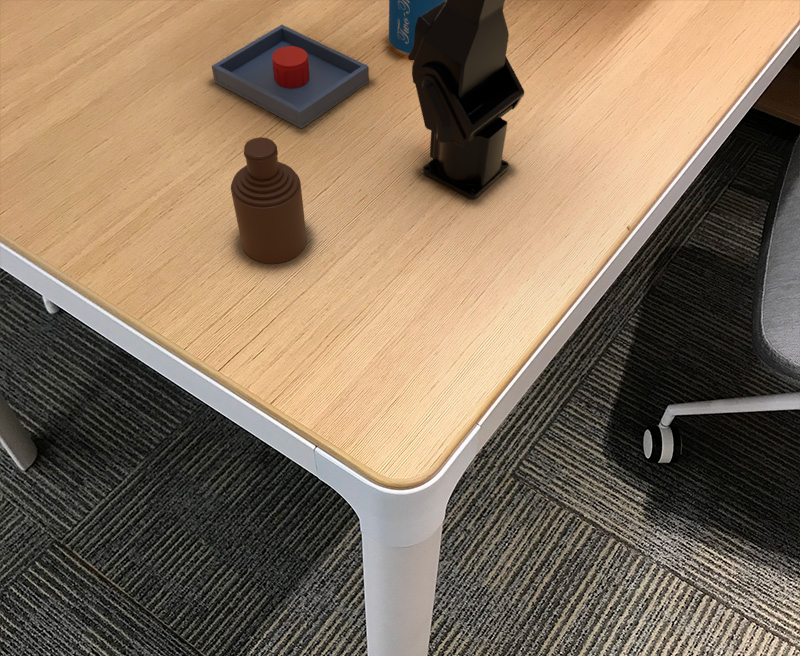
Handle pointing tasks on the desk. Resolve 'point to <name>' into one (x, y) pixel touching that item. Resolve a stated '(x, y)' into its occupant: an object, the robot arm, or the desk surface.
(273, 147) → the bottle
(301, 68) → the cap
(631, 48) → the desk surface
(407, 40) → the beverage can
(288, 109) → the tray
